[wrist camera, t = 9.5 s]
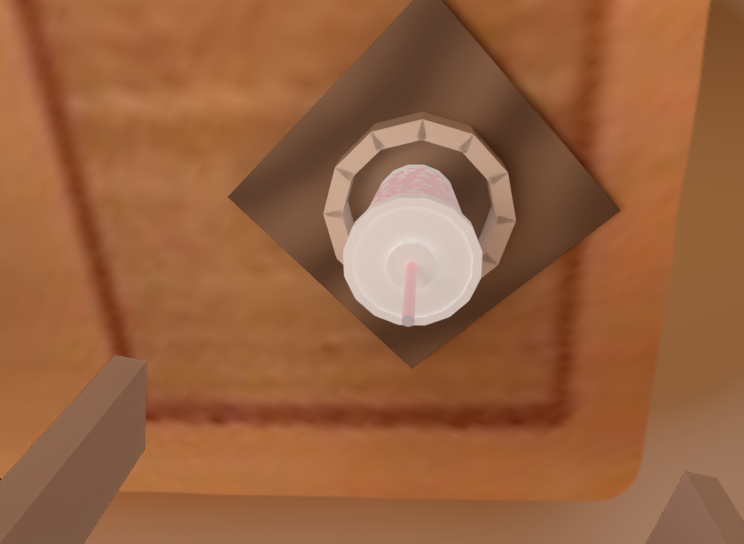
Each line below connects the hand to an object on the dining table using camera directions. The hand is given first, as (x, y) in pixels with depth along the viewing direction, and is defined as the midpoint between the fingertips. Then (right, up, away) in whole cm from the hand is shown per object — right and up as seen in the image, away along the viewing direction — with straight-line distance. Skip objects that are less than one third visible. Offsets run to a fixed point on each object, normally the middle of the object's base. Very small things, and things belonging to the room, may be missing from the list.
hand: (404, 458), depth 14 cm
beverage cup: (+2, +9, +19) cm, 21 cm away
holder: (+2, +9, +20) cm, 22 cm away
